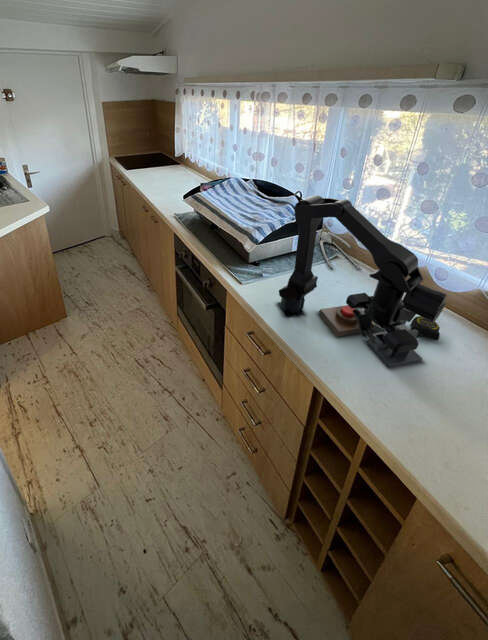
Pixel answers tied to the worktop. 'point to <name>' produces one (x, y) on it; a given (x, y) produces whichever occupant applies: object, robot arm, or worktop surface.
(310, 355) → the worktop surface
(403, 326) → the lever
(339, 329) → the button block
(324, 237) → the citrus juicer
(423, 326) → the tape measure
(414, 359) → the bracket
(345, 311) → the button
